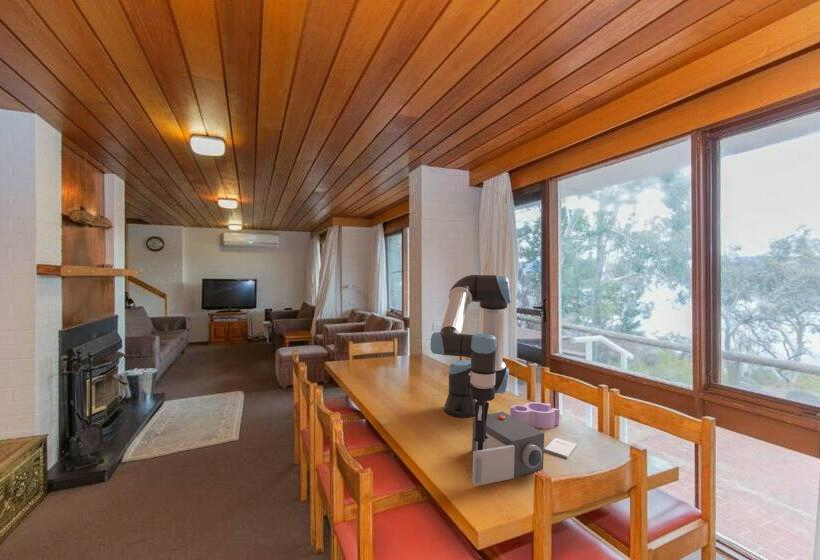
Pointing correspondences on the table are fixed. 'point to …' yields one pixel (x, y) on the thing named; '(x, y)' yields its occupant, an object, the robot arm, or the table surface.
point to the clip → (536, 414)
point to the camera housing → (514, 441)
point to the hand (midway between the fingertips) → (480, 460)
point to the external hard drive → (560, 448)
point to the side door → (493, 465)
